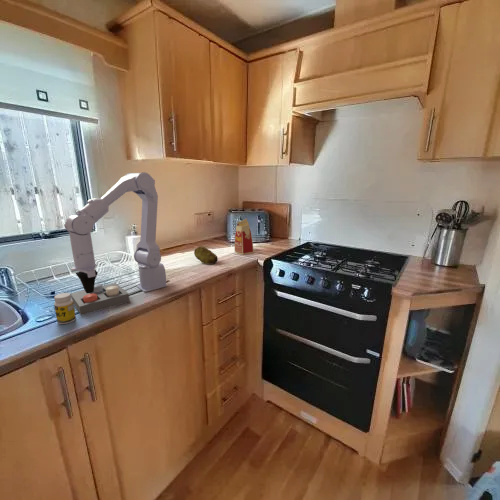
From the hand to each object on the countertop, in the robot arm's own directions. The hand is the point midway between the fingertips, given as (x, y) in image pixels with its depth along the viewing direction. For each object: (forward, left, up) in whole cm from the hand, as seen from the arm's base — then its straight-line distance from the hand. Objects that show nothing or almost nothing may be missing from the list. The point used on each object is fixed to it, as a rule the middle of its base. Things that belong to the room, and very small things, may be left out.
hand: (89, 292), depth 91 cm
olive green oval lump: (-57, -17, -6) cm, 60 cm away
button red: (0, 0, -5) cm, 5 cm away
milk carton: (-85, -19, -6) cm, 87 cm away
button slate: (-3, -6, -4) cm, 8 cm away
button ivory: (-7, 0, -4) cm, 8 cm away
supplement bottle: (+8, +5, -6) cm, 11 cm away
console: (-3, -3, -5) cm, 7 cm away
